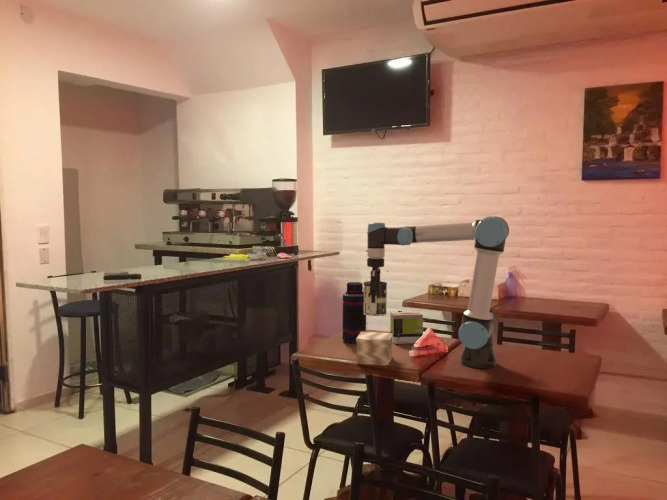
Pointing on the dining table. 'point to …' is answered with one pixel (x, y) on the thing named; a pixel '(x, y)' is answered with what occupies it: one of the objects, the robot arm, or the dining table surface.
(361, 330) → the red-striped thermos flask
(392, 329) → the tea box
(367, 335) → the birch box
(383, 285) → the coffee can
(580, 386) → the dining table surface
